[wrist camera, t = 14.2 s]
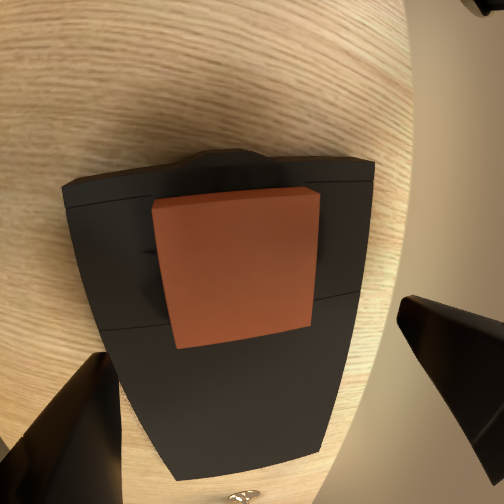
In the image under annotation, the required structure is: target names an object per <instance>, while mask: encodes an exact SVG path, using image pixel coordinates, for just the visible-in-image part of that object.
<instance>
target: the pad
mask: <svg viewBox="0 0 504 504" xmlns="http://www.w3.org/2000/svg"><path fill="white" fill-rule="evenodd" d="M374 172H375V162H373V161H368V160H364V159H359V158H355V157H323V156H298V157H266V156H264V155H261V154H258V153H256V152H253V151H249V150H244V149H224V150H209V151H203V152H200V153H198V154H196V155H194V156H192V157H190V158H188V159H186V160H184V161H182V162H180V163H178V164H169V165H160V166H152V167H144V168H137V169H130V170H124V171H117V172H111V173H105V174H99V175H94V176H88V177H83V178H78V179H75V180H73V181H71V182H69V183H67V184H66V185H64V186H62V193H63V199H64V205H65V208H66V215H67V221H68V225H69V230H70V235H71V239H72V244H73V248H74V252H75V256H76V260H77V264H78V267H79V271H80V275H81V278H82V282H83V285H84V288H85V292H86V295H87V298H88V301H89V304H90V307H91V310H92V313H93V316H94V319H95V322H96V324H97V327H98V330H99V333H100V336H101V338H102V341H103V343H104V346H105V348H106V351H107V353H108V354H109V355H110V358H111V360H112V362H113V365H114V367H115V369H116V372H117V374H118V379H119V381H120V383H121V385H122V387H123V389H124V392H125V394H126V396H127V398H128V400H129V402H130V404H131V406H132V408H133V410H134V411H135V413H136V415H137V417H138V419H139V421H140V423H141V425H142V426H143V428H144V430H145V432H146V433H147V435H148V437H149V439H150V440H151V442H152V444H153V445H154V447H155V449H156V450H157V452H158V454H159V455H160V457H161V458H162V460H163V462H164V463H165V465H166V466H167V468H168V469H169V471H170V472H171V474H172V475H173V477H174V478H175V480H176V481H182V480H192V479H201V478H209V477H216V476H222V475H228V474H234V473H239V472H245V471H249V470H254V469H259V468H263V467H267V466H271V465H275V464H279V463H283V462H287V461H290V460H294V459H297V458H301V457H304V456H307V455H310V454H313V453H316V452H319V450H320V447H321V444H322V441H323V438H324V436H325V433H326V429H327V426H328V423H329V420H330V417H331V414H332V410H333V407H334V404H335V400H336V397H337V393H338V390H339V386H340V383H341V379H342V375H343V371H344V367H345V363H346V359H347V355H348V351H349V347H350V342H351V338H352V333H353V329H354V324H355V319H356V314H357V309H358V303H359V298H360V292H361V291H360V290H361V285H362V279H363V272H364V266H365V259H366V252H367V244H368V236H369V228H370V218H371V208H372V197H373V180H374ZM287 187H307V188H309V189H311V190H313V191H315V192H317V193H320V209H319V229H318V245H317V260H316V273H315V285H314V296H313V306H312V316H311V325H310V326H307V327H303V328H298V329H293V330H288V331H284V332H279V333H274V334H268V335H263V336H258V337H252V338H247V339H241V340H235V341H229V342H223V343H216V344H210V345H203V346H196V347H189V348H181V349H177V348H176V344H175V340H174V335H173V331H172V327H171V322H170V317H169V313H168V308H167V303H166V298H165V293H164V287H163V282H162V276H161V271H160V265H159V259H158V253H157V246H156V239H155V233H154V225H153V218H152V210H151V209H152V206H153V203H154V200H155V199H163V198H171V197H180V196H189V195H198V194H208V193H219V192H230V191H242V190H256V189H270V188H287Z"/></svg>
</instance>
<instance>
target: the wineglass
mask: <svg viewBox="0 0 504 504" xmlns="http://www.w3.org/2000/svg"><path fill="white" fill-rule="evenodd" d="M259 495H260V492H259V491H246V492H241V493H237V494H234V495H232V496H230V497H229V498H228V500H229V501H232V502H242V503H244V504H249V501H250V500H251V499H254V498H256V497H258V496H259Z"/></svg>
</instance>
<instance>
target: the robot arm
mask: <svg viewBox="0 0 504 504" xmlns="http://www.w3.org/2000/svg"><path fill="white" fill-rule="evenodd" d="M474 2H475V3H476V5H477V7H478V8H479V10H480V12H481V13H482V15H483V16H488V15H489V14H490V12H491V11H497V10H504V0H474ZM397 324H398V326H399V328H400V329H401V331H402V333H403V335H404V337H405V338H406V340H407V342H408V344H409V345H410V347H411V349H412V351H413V353H414V354H415V356H416V358H417V359H418V361H419V362H420V364H421V365H422V367H423V368H424V370H425V371H426V373H427V374H428V376H429V377H430V379H431V381H432V382H433V384H434V385H435V387H436V388H437V390H438V391H439V393H440V394H441V396H442V397H443V399H444V401H445V402H446V404H447V405H448V407H449V409H450V410H451V412H452V413H453V415H454V417H455V418H456V420H457V422H458V423H459V425H460V426H461V428H462V430H463V432H464V433H465V435H466V437H467V439H468V440H469V442H470V444H471V446H472V448H473V449H474V451H475V453H476V455H477V457H478V459H479V460H480V462H481V464H482V466H483V468H484V470H485V472H486V474H487V476H488V478H489V480H490V481H491V483H492V485H493V486H495V485H496V484H497V483H499V482H500V481H501V480H502V479H504V323H503V322H500V321H497V320H494V319H490V318H487V317H484V316H481V315H477V314H474V313H471V312H467V311H464V310H461V309H458V308H455V307H451V306H448V305H445V304H442V303H438V302H435V301H431V300H429V299H425V298H422V297H419V296H415V295H410V296H406V297H404V298H403V299H402V300H401V303H400V307H399V311H398V314H397ZM121 440H122V426H121V413H120V397H119V379H118V374H117V372H116V369H115V367H114V365H113V362H112V360H111V358H110V355H109V354H108V353H107V352H96V353H93V354H92V355H91V356H90V357H89V358H88V359H87V360H86V361H85V363H84V364H83V365H82V366H81V367H80V368H79V369H78V370H77V372H76V373H75V374H74V375H73V376H72V377H71V378H70V379H69V381H68V382H67V383H66V384H65V385H64V386H63V388H62V389H61V390H60V391H59V392H58V393H57V395H56V396H55V397H54V398H53V399H52V400H51V402H50V403H49V404H48V405H47V406H46V408H45V409H44V410H43V411H42V412H41V414H40V415H39V416H38V417H37V418H36V420H35V421H34V422H33V423H32V424H31V426H30V427H29V428H28V429H27V431H26V432H25V433H24V435H23V437H21V438H20V439H19V441H18V442H17V443H16V444H15V446H14V447H13V448H12V449H11V450H10V452H9V453H8V454H7V455H6V457H5V458H4V459H3V460H2V461H1V462H0V504H123V500H122V474H121Z"/></svg>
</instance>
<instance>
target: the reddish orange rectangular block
mask: <svg viewBox="0 0 504 504" xmlns="http://www.w3.org/2000/svg"><path fill="white" fill-rule="evenodd" d="M319 209H320V193H317V192H315V191H313V190H311V189H309V188H307V187H287V188H270V189H256V190H242V191H230V192H219V193H208V194H198V195H189V196H180V197H171V198H163V199H155V200H154V203H153V206H152V209H151V210H152V218H153V225H154V233H155V239H156V246H157V253H158V259H159V265H160V271H161V276H162V282H163V287H164V293H165V298H166V303H167V308H168V313H169V317H170V322H171V327H172V331H173V335H174V340H175V344H176V348H177V349H181V348H189V347H196V346H203V345H210V344H216V343H223V342H229V341H235V340H241V339H247V338H252V337H258V336H263V335H268V334H274V333H279V332H284V331H288V330H293V329H298V328H303V327H307V326H310V325H311V316H312V306H313V296H314V285H315V273H316V260H317V245H318V229H319Z"/></svg>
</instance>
